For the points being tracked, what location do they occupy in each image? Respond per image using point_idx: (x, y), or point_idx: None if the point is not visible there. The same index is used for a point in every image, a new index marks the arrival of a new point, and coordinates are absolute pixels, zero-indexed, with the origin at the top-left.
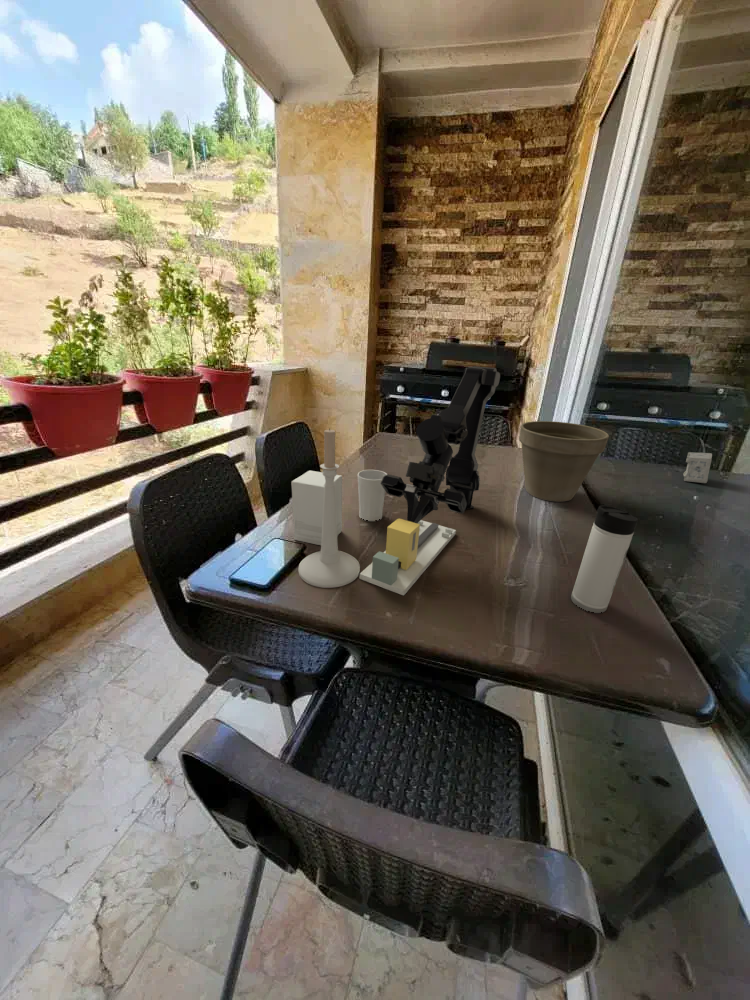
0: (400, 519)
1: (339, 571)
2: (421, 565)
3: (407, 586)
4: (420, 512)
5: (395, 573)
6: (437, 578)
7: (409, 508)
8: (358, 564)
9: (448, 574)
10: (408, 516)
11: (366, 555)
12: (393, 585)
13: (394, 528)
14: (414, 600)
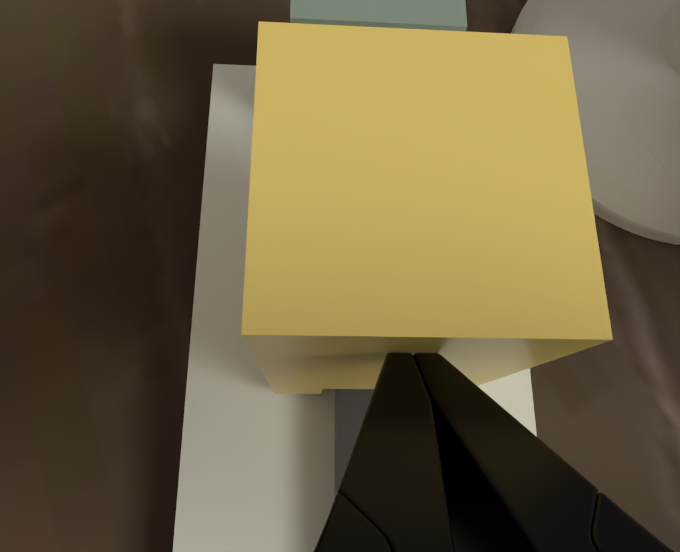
0: (563, 312)
1: (589, 8)
2: (215, 354)
3: (210, 102)
4: (322, 542)
5: None
6: (89, 333)
7: (606, 529)
8: None
9: (27, 423)
10: (505, 429)
11: (610, 321)
12: None
13: (479, 44)
14: (153, 81)
